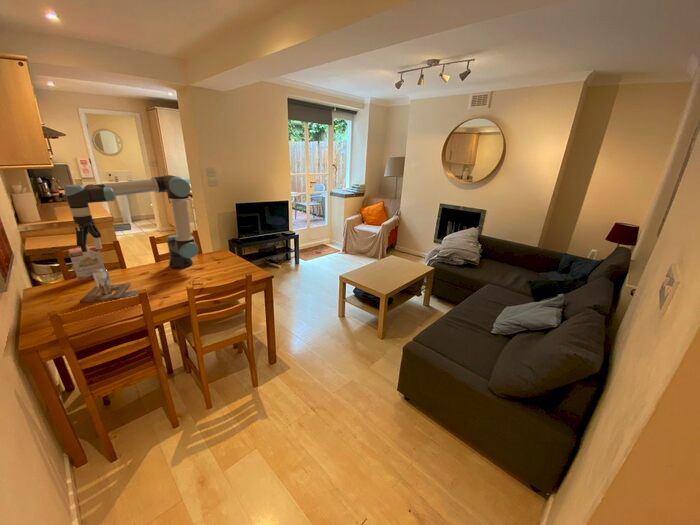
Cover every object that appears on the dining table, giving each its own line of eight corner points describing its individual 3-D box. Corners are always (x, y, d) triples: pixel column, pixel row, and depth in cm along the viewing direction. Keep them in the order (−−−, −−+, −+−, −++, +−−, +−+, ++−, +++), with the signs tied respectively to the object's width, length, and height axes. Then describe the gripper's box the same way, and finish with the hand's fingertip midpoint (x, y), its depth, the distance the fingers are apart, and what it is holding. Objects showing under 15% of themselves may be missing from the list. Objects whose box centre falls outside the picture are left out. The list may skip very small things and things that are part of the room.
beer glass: (112, 289, 173) (105, 267, 167) (115, 293, 169) (108, 270, 163) (97, 293, 168) (90, 270, 162) (101, 297, 164) (93, 274, 158)
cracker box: (79, 282, 179) (68, 251, 171) (77, 279, 182) (67, 249, 174) (107, 276, 189) (98, 246, 181) (105, 273, 192) (96, 244, 184)
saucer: (146, 290, 174) (146, 289, 174) (139, 299, 164) (139, 298, 163) (122, 292, 170) (122, 291, 170) (114, 302, 160) (114, 301, 160)
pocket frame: (130, 285, 179) (129, 283, 178) (118, 299, 163) (118, 297, 162) (95, 288, 173) (94, 286, 173) (80, 303, 157) (79, 300, 157)
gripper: (85, 210, 160) (96, 245, 168) (59, 221, 138) (72, 261, 146) (101, 210, 162) (111, 245, 170) (78, 220, 140) (90, 260, 148)
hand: (93, 252), depth 158 cm, fingers open, 13 cm apart
